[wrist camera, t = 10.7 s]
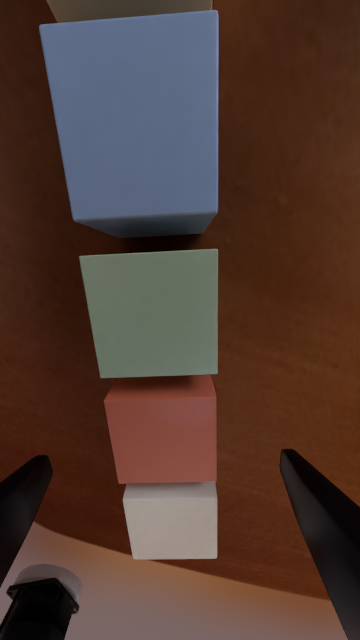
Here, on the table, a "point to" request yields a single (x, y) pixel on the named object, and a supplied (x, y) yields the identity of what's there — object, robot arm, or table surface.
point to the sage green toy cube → (153, 312)
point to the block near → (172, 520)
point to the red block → (163, 428)
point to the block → (121, 8)
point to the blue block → (138, 120)
